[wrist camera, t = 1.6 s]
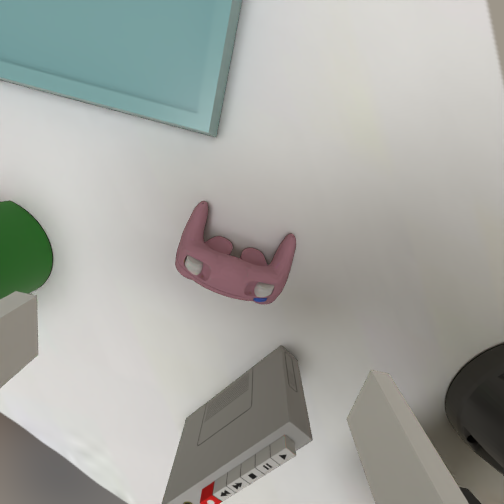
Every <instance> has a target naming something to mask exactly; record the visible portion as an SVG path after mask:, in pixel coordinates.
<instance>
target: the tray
mask: <svg viewBox="0 0 504 504" xmlns="http://www.w3.org/2000/svg"><path fill="white" fill-rule="evenodd" d="M241 4H242V0H0V80H2V81H6V82H9V83H13V84H17V85H21V86H25V87H28V88H32V89H36V90H40V91H43V92H47V93H51V94H55V95H58V96H62V97H66V98H70V99H73V100H77V101H81V102H85V103H89V104H92V105H96V106H100V107H104V108H107V109H111V110H115V111H119V112H122V113H126V114H130V115H134V116H137V117H141V118H145V119H149V120H153V121H156V122H160V123H164V124H168V125H171V126H175V127H179V128H183V129H186V130H190V131H194V132H198V133H201V134H205V135H209V136H213V137H216V136H217V131H218V126H219V120H220V115H221V110H222V104H223V99H224V94H225V88H226V83H227V78H228V73H229V67H230V62H231V57H232V51H233V46H234V41H235V35H236V30H237V25H238V20H239V14H240V9H241Z"/></svg>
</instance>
